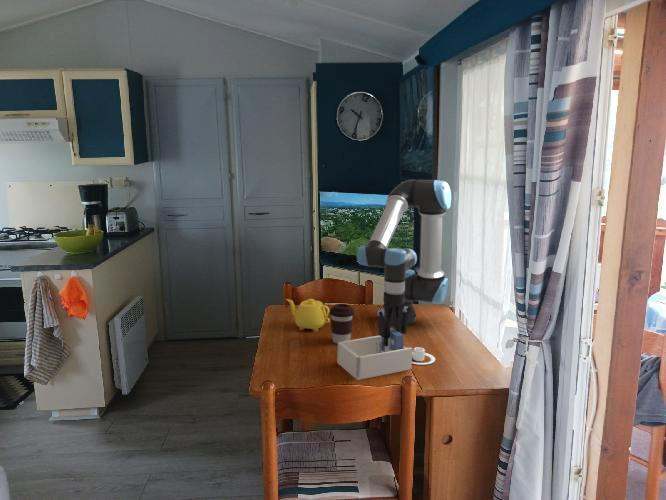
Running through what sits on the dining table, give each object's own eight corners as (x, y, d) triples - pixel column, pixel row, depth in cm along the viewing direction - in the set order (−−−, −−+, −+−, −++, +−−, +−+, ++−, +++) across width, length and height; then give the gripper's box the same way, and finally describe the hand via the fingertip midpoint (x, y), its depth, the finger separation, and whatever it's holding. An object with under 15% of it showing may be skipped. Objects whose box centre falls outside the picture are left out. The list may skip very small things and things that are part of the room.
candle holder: (420, 351, 215) (421, 341, 214) (441, 362, 205) (442, 351, 204) (396, 357, 209) (397, 346, 208) (417, 368, 199) (417, 357, 198)
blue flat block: (388, 348, 207) (389, 326, 205) (402, 358, 198) (403, 334, 197) (380, 350, 206) (381, 327, 204) (394, 359, 197) (395, 336, 195)
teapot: (325, 334, 231) (325, 305, 228) (280, 329, 236) (280, 301, 233) (334, 324, 244) (334, 296, 241) (291, 319, 249) (291, 292, 246)
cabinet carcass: (388, 353, 212) (389, 333, 210) (411, 369, 197) (412, 348, 196) (337, 362, 202) (337, 342, 201) (357, 380, 188) (357, 358, 187)
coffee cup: (351, 346, 218) (351, 310, 215) (326, 344, 220) (327, 308, 217) (355, 337, 228) (356, 303, 225) (331, 336, 229) (332, 301, 226)
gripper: (407, 286, 204) (404, 346, 209) (369, 291, 197) (367, 352, 202) (418, 292, 198) (415, 353, 202) (380, 296, 191) (377, 360, 195)
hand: (391, 353), depth 202 cm, fingers closed on blue flat block, 3 cm apart
